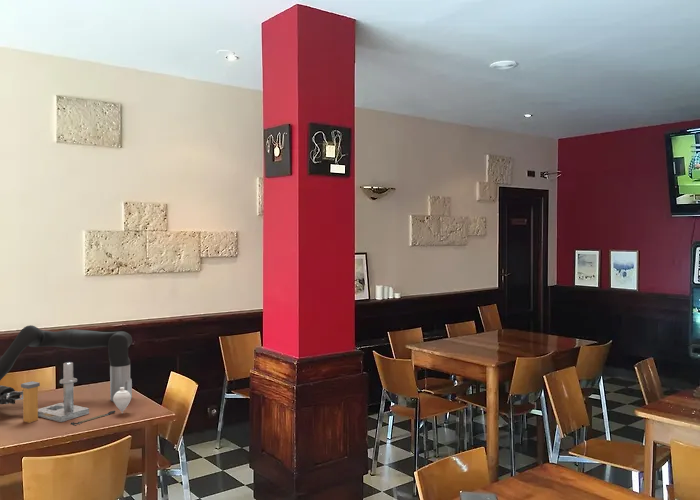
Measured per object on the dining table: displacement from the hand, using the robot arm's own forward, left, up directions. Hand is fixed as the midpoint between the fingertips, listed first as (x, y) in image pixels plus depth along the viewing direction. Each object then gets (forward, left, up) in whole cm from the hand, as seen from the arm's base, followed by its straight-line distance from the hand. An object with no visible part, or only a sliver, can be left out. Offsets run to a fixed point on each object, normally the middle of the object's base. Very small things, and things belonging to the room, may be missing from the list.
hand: (24, 399), depth 260 cm
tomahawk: (-32, +1, -10) cm, 33 cm away
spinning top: (-40, -7, -9) cm, 42 cm away
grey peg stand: (-14, -6, -9) cm, 17 cm away
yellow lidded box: (-4, +2, -9) cm, 10 cm away
